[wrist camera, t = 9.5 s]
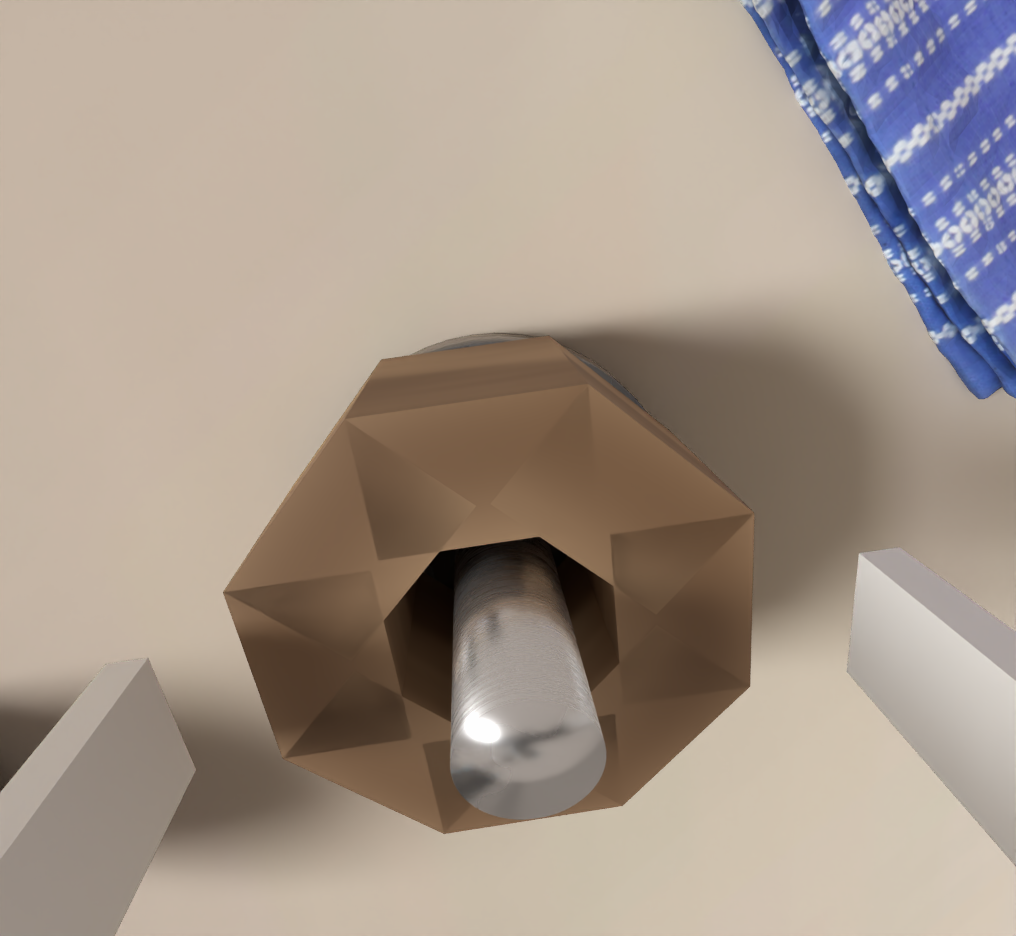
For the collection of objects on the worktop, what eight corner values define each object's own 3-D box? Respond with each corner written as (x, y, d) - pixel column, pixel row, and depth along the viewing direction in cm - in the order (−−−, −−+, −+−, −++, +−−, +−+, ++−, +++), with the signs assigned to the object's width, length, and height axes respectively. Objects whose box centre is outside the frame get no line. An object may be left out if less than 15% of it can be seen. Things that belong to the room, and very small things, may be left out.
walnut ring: (676, 647, 19) (747, 785, 14) (353, 696, 18) (316, 853, 14) (666, 318, 15) (758, 359, 10) (261, 376, 15) (170, 444, 10)
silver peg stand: (666, 617, 20) (826, 921, 11) (365, 662, 20) (287, 1007, 11) (655, 309, 16) (883, 404, 8) (285, 360, 16) (72, 519, 7)
